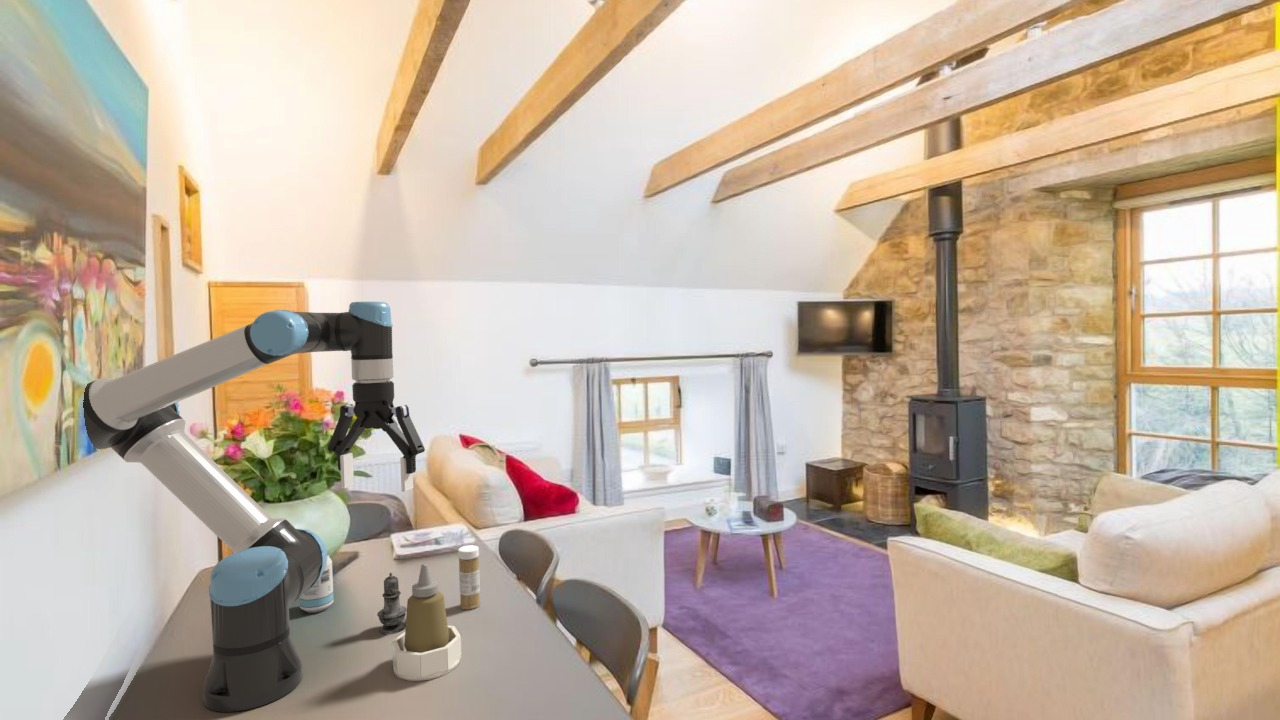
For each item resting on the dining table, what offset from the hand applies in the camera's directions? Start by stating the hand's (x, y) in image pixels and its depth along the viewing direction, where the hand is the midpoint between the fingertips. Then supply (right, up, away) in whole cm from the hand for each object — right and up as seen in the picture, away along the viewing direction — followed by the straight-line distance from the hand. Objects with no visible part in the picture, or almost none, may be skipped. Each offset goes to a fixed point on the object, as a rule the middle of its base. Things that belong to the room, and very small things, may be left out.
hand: (377, 488), depth 128 cm
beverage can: (-22, -31, +20) cm, 43 cm away
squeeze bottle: (+12, -31, -6) cm, 34 cm away
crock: (+12, -32, -6) cm, 34 cm away
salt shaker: (0, -32, +9) cm, 33 cm away
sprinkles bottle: (+13, -31, +19) cm, 39 cm away
